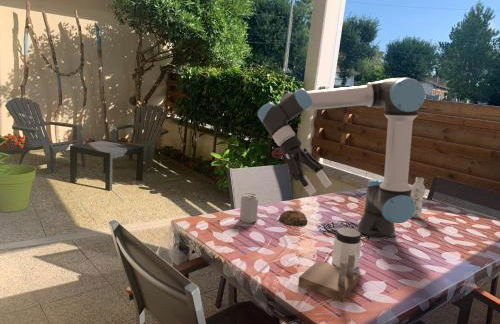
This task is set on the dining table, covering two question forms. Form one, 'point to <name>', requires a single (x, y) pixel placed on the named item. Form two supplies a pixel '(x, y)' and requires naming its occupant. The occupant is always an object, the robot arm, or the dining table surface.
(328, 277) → the peg stand
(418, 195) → the pale carved statuette
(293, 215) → the bread roll
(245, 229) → the dining table surface
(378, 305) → the dining table surface
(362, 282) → the dining table surface
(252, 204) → the can
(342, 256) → the jar
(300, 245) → the dining table surface
